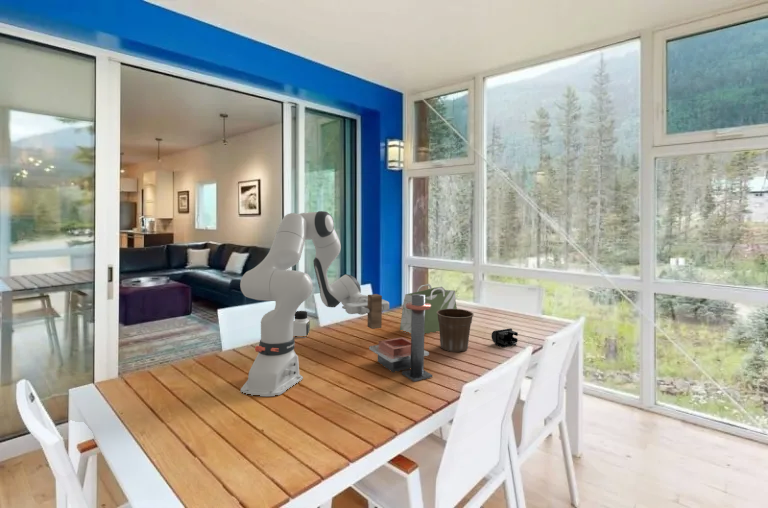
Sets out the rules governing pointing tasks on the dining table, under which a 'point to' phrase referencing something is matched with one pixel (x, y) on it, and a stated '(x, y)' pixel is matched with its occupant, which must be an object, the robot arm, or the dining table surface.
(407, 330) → the grocery bag
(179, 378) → the dining table surface
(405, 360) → the bracket
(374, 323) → the tall wooden post
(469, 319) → the plant pot
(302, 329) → the medicine bottle
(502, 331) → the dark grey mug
